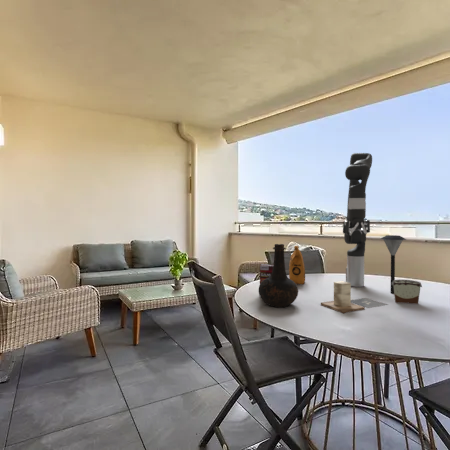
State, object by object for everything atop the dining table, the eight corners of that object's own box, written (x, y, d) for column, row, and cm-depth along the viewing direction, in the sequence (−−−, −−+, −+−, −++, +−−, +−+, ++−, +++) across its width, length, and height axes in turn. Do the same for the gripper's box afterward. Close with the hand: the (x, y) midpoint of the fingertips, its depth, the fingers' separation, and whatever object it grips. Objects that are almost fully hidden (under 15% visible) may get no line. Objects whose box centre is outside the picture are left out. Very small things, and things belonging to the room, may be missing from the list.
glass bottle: (252, 301, 154) (251, 243, 153) (283, 297, 161) (283, 241, 160) (271, 312, 137) (271, 246, 136) (306, 307, 144) (306, 244, 143)
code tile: (345, 301, 153) (345, 300, 153) (365, 298, 158) (365, 297, 158) (367, 308, 141) (367, 308, 141) (388, 304, 147) (388, 304, 147)
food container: (418, 301, 153) (418, 280, 152) (421, 304, 147) (422, 282, 146) (389, 299, 157) (389, 278, 156) (391, 302, 151) (391, 281, 150)
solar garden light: (379, 294, 165) (380, 236, 164) (379, 289, 176) (379, 234, 175) (406, 297, 160) (407, 236, 159) (405, 291, 171) (405, 235, 170)
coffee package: (287, 283, 192) (287, 247, 192) (289, 279, 204) (289, 245, 204) (304, 284, 190) (304, 247, 189) (305, 280, 202) (305, 245, 201)
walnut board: (320, 304, 148) (320, 302, 148) (340, 301, 153) (340, 299, 153) (343, 313, 135) (343, 310, 135) (364, 309, 140) (364, 307, 140)
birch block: (333, 304, 145) (333, 282, 145) (342, 302, 147) (342, 281, 147) (341, 307, 140) (342, 284, 140) (350, 305, 142) (350, 283, 142)
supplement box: (259, 296, 163) (259, 265, 162) (260, 294, 168) (260, 264, 167) (276, 297, 161) (276, 266, 160) (277, 295, 166) (277, 264, 165)
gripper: (362, 207, 157) (361, 240, 158) (339, 208, 152) (338, 242, 153) (374, 207, 150) (374, 242, 151) (351, 208, 145) (350, 244, 146)
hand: (356, 242), depth 152 cm, fingers open, 8 cm apart
